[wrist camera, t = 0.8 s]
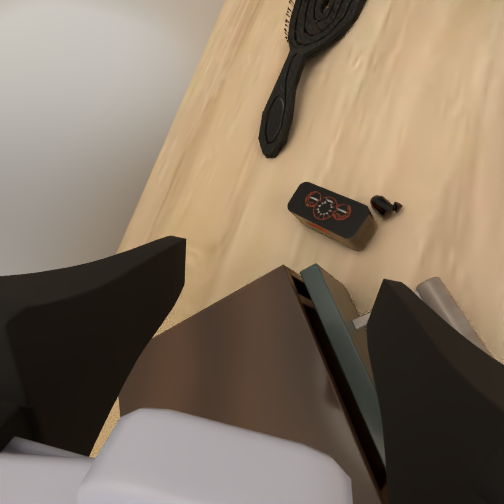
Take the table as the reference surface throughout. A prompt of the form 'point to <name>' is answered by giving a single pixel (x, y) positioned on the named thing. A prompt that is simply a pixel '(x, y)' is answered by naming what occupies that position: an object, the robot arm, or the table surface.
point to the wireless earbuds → (338, 214)
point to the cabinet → (254, 374)
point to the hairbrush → (302, 61)
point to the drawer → (365, 352)
